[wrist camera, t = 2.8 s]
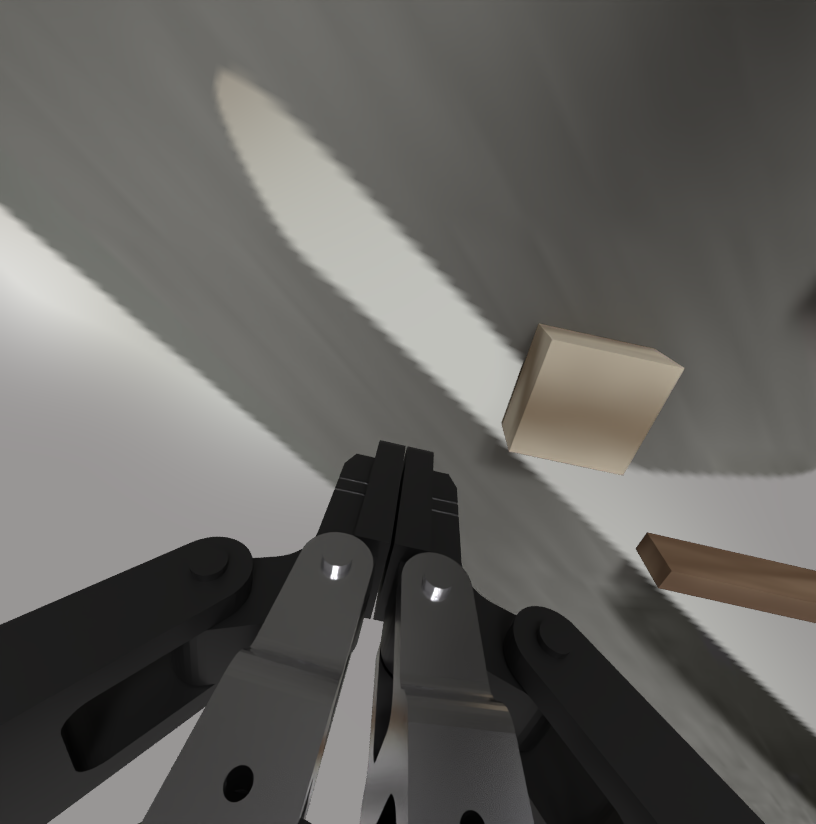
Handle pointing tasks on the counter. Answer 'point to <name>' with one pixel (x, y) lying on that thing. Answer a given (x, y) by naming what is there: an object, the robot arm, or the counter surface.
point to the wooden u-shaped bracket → (730, 577)
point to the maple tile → (586, 399)
